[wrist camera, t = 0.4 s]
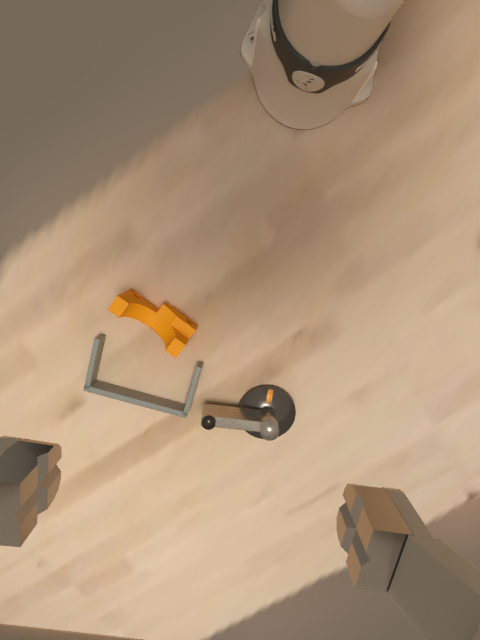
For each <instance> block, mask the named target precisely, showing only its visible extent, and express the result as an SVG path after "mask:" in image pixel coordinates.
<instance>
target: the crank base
mask: <svg viewBox="0 0 480 640" xmlns="http://www.w3.org/2000/svg"><path fill="white" fill-rule="evenodd" d="M266 406H268V407H271V408H273V409H274V410H275V413H276V418H277V422H278V427H279V435H278V436H281V435H282V434H284V433H285V432H286V431H288V430H289V428H290V427H291V426H292V424H293V422H294V419H295V412H296V411H295V406H294V403H293V400H292V398H291V397H290V395H289V394H288V393H287V392H286V391H285V390H283V389H282V388H280V387H277V386H274V385H260V386H257V387H254V388H252V389H251V390H249V391H248V392H247V393H246V394H245V395H244V396H243V397H242V399H241V401H240V403H239V407H240V408H250V409H259V410H260V409H261V408H263V407H266ZM245 431H246V432H248V433H249V434H250V435H252V436H254V437H257V438H261V439H264V438H262V436H261V433H260V432H257V431H247V430H245Z"/></svg>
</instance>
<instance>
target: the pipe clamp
mask: <svg viewBox="0 0 480 640" xmlns="http://www.w3.org/2000/svg"><path fill="white" fill-rule="evenodd" d="M108 310H109V311H110V312H112V313H113V314H115V315H116V316H117V317H131V318H134V319H136V320H139V321H141V322H142V323H144V324H146V325H147V326H149V327H150V328H152V329H153V330H154V331H155V332H156V333H157V334H158V335H159V336H160V337H161V338H162V340H163V341H164V343H165V346H166V350H165V351H166V352H168V353H169V354H170V355H172V356H173V357H175V358H176V357H177V356H178V355H179V353H180V352H181V351H182V350H183V348H184V347H185V346H186V344H187V342H188V340H189V338H190V337H191V336H192V334H193V333H194V332H195V331H196V329H197V326H198V325H197V324H195V323H194V322H193V321H191V320H190V319H189V318H187V317H186V316H185V315H183V314H182V313H181V312H179V311H178V310H177V309H175V308H174V307H173V306H171V305H170V304H169V303H167V302H165V303H164V304H163V305H162V306H161V308H160V309H158V308H157V307H155V306H154V305H153V304H151V303H150V302H149V301H147V300H146V299H144V298H143V297H142V296H140V295H139V294H138V293H136V292H135V291H134V290H132V289H131V290H129V291H126V292H124V293H122V294H120V295H118V296H117V297H116V299H115V300H114V301H113V303H112V304H111V306H110V307H109V309H108Z"/></svg>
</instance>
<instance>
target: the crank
mask: <svg viewBox="0 0 480 640" xmlns="http://www.w3.org/2000/svg"><path fill="white" fill-rule="evenodd" d="M201 426H202V427H203V428H205V429H208V430H210V429H212V428H214V427H219V428H229V429H238V430H247V431H257V432H260V433H261V436H262V438H264V439H265V440H269V441H270V440H274V439H276V438H277V437H278V435H279V427H278V422H277V418H276V413H275V410H274V409H273V408H271V407H268V406H266V407H263V408H261V409H260V410H259V409H250V408H240V407H231V406H222V405H213V404H204V407H203V412H202V419H201Z"/></svg>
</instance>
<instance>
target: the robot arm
mask: <svg viewBox="0 0 480 640" xmlns="http://www.w3.org/2000/svg"><path fill="white" fill-rule="evenodd" d="M404 1H405V0H261V2H260V5H259V7H258V9H257V11H256V13H255V16H254V18H253V20H252V22H251V24H250V26H249V29H248V31H247V33H246V35H245V38H244V40H243V42H242V45H241V49H240V55H241V58H242V60H243V62H244V63H245V65H246V66H247V68H248V69H249V70H250V72H251V73H252V76H253V79H254V83H255V87H256V91H257V94H258V96H259V99H260V101H261V103H262V105H263V106H264V108H265V109H266V110H267V112H268V113H269V114H270V115H271V116H272V117H273V118H274V119H276V120H277V121H278V122H280V123H282V124H283V125H286V126H288V127H291V128H295V129H313V128H317V127H320V126H322V125H325V124H326V123H328V122H330V121H331V120H333V119H334V118H335V117H337V116H338V115H339V114H340V113H341V112H342V111H344V110H345V109H346V108H348V107H351V106H354V105H357V104H360V103H362V102H364V101H365V100H366V99H367V98H368V97H369V95H370V93H371V90H372V85H373V79H374V73H375V69H376V67H377V65H378V62H377V56H378V50H379V46H380V44H381V42H382V40H383V38H384V36H385V34H386V32H387V30H388V27H389V25H390V22H391V20H392V18H393V17H394V15H395V14H396V12H397V11H398V10H399V8H400V7H401V5H402V4H403V2H404ZM252 39H254V43H253V44H252V43H251V42H250V41H251V40H252ZM60 459H61V446H60V445H59V444H55V443H48V442H42V441H36V440H30V439H21V438H15V437H9V436H3V437H0V545H3V546H14V547H21V545H22V544H23V543H24V541H25V540H26V538H27V537H28V536H29V534H30V533H31V531H32V530H33V529H34V527H35V526H36V524H37V515H38V514H39V513H41V512H43V511H45V510H46V509H48V507H49V506H50V504H51V503H52V501H53V500H54V498H55V495H56V493H57V491H58V489H59V484H60V480H61V471H60V469H59V468H58V466H57V465H56V464H57V462H58V461H59V460H60ZM343 497H344V499H345V502H346V503H345V504H343V505H342V506H341V507H340V508H339V511H338V515H337V534H338V539H339V542H340V545H341V547H342V548H343V549H344V550H345V551H346V552H347V553H348V557H347V560H346V563H347V566H348V569H349V572H350V575H351V578H352V581H353V584H354V587H355V588H360V589H367V590H373V591H380V592H387V593H388V596H389V597H390V598H391V600H392V601H393V602H394V603H395V604H396V606H397V607H398V608H399V609H400V611H401V612H402V613H403V614H404V615H405V617H406V618H407V619H408V620H409V621H410V623H411V624H412V625H413V626H414V628H415V629H416V630H417V631H418V632H419V634H420V635H421V636H422V637H423V638H424V640H480V570H479V569H478V568H477V567H475V566H474V565H473V564H471V563H470V562H469V561H467V560H466V559H465V558H463V557H462V556H461V555H459V554H458V553H457V552H456V551H454V550H453V549H452V548H450V547H449V546H448V545H446V544H445V543H444V542H443V541H441V540H440V539H434V538H433V536H432V535H431V533H430V532H429V530H428V529H427V527H426V526H425V524H424V523H423V521H422V520H421V518H420V517H419V515H418V513H417V512H416V510H415V509H414V507H413V506H412V504H411V503H410V501H409V500H408V498H407V497H406V495H405V494H404V492H402V491H401V490H400V489H393V488H383V487H382V488H379V487H371V486H363V485H356V484H347V486H346V487H345V489H344V493H343ZM0 640H143V639H134V638H125V637H116V636H107V635H98V634H89V633H80V632H71V631H62V630H53V629H44V628H35V627H26V626H17V625H8V624H0Z"/></svg>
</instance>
